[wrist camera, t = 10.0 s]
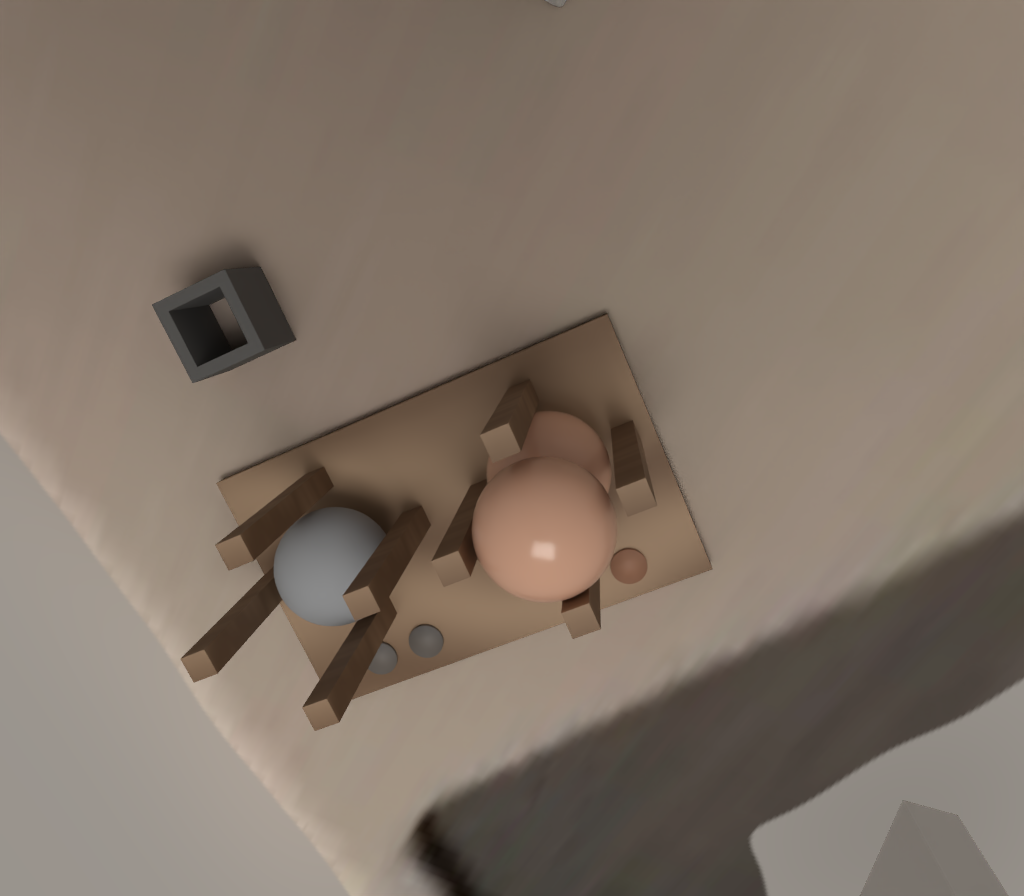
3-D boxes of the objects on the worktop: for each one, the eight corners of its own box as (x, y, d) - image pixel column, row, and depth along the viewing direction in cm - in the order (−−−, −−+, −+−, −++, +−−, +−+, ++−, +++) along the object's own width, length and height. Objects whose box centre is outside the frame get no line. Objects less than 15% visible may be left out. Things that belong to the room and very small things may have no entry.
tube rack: (222, 479, 38) (101, 555, 28) (607, 313, 34) (611, 338, 25) (337, 699, 40) (260, 835, 31) (710, 563, 36) (750, 672, 27)
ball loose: (497, 412, 28) (502, 499, 24) (628, 449, 29) (654, 539, 25) (453, 520, 31) (451, 615, 27) (575, 550, 32) (591, 647, 28)
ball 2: (479, 432, 36) (455, 446, 31) (585, 388, 35) (578, 395, 30) (524, 537, 36) (507, 568, 31) (630, 495, 35) (630, 521, 30)
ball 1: (279, 516, 37) (232, 557, 32) (376, 476, 36) (342, 511, 31) (328, 611, 38) (289, 664, 33) (424, 574, 37) (398, 623, 32)
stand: (193, 299, 36) (151, 304, 32) (260, 267, 35) (224, 269, 32) (230, 370, 36) (192, 383, 33) (296, 340, 36) (264, 349, 32)
